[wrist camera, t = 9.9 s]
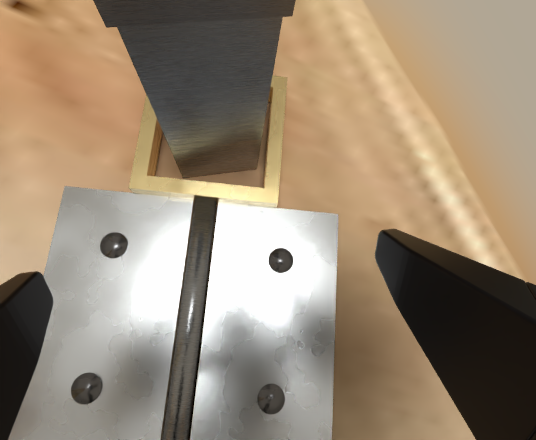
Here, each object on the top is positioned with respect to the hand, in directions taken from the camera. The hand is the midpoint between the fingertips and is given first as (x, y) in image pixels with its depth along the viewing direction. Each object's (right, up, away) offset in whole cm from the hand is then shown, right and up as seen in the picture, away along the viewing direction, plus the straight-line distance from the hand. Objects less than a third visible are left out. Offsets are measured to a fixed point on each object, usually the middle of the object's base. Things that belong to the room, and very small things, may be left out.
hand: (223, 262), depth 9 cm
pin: (-2, +6, +11) cm, 13 cm away
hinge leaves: (-3, 0, +10) cm, 10 cm away
